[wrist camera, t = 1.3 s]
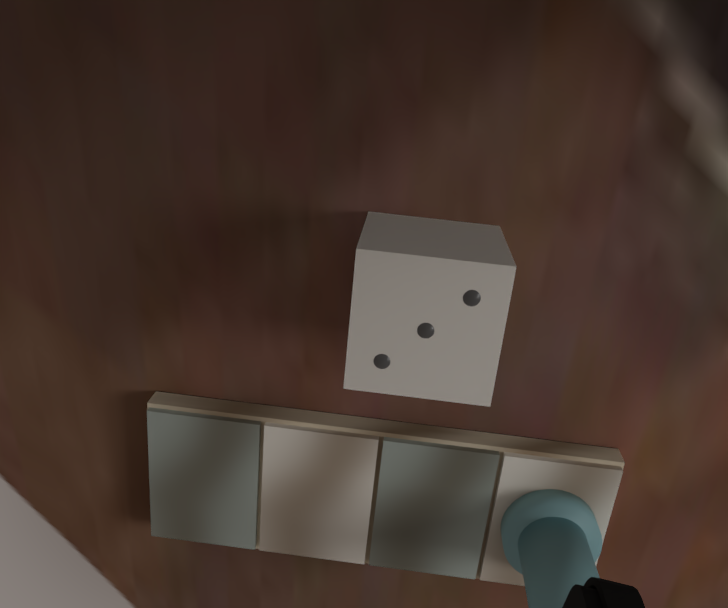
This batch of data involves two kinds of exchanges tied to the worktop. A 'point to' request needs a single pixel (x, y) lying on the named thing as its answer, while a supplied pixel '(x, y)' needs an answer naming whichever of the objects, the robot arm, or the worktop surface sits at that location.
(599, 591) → the robot arm
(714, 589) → the worktop surface
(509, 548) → the pawn
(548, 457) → the board
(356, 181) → the worktop surface
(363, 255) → the die
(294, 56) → the worktop surface
